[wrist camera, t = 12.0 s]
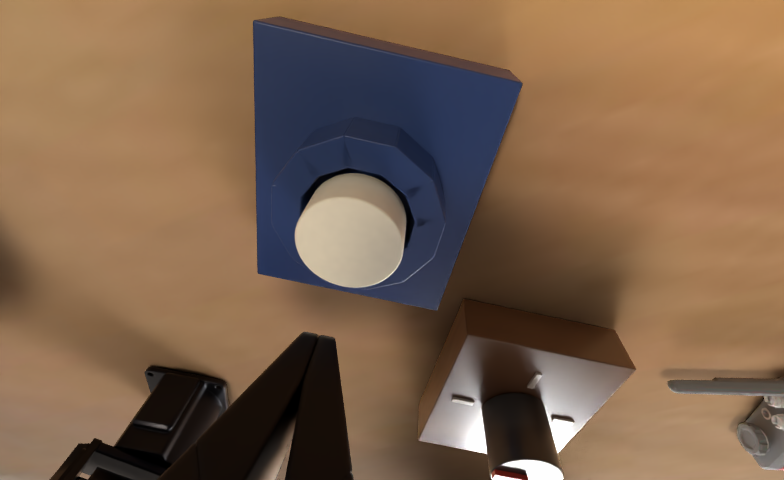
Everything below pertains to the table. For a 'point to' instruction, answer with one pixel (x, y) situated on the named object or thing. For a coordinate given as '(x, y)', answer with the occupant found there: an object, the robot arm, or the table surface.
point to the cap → (352, 231)
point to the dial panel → (518, 372)
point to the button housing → (373, 143)
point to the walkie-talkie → (765, 425)
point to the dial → (519, 439)
